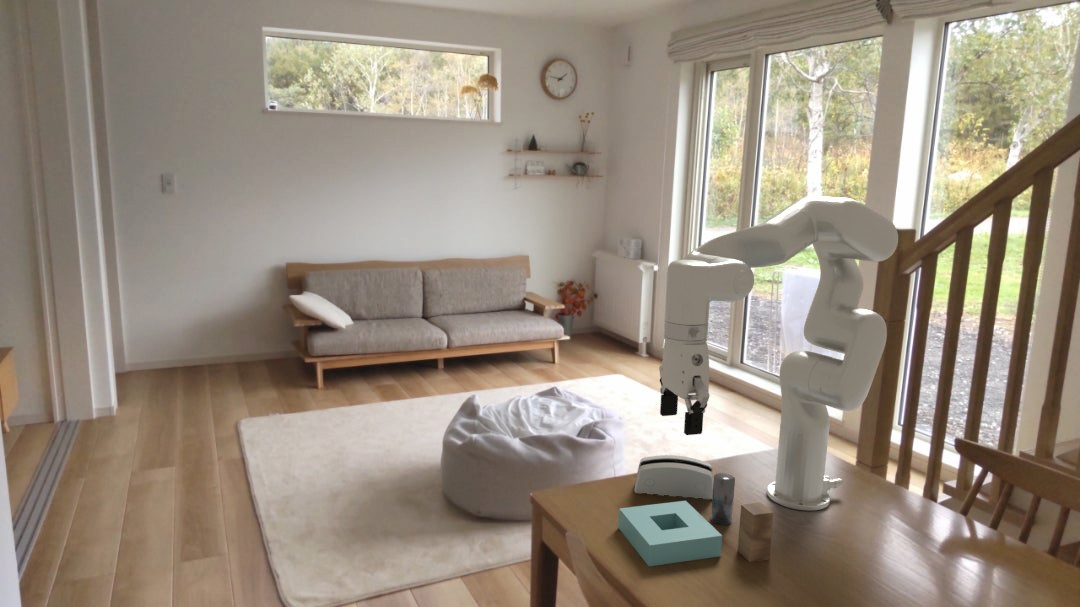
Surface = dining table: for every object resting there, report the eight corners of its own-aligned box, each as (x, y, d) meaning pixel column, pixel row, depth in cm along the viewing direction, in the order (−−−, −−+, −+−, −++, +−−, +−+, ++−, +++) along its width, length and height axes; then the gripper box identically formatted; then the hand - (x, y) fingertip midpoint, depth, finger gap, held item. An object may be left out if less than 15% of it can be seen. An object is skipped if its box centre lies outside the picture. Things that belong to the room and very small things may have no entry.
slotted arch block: (712, 489, 156) (716, 454, 151) (713, 505, 152) (718, 470, 147) (634, 482, 159) (636, 448, 154) (633, 498, 155) (635, 463, 149)
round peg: (725, 514, 145) (728, 472, 143) (735, 523, 141) (739, 480, 139) (707, 516, 144) (710, 474, 142) (717, 526, 140) (720, 482, 138)
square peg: (756, 547, 132) (760, 502, 131) (769, 559, 129) (773, 512, 127) (737, 550, 131) (741, 504, 130) (749, 562, 127) (753, 515, 126)
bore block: (684, 519, 142) (685, 500, 142) (720, 556, 129) (722, 535, 128) (618, 527, 139) (619, 508, 138) (648, 566, 125) (649, 545, 125)
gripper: (730, 341, 119) (723, 440, 122) (683, 320, 135) (678, 407, 138) (688, 344, 117) (682, 444, 120) (645, 321, 133) (641, 410, 137)
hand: (680, 424), depth 129 cm, fingers open, 9 cm apart
